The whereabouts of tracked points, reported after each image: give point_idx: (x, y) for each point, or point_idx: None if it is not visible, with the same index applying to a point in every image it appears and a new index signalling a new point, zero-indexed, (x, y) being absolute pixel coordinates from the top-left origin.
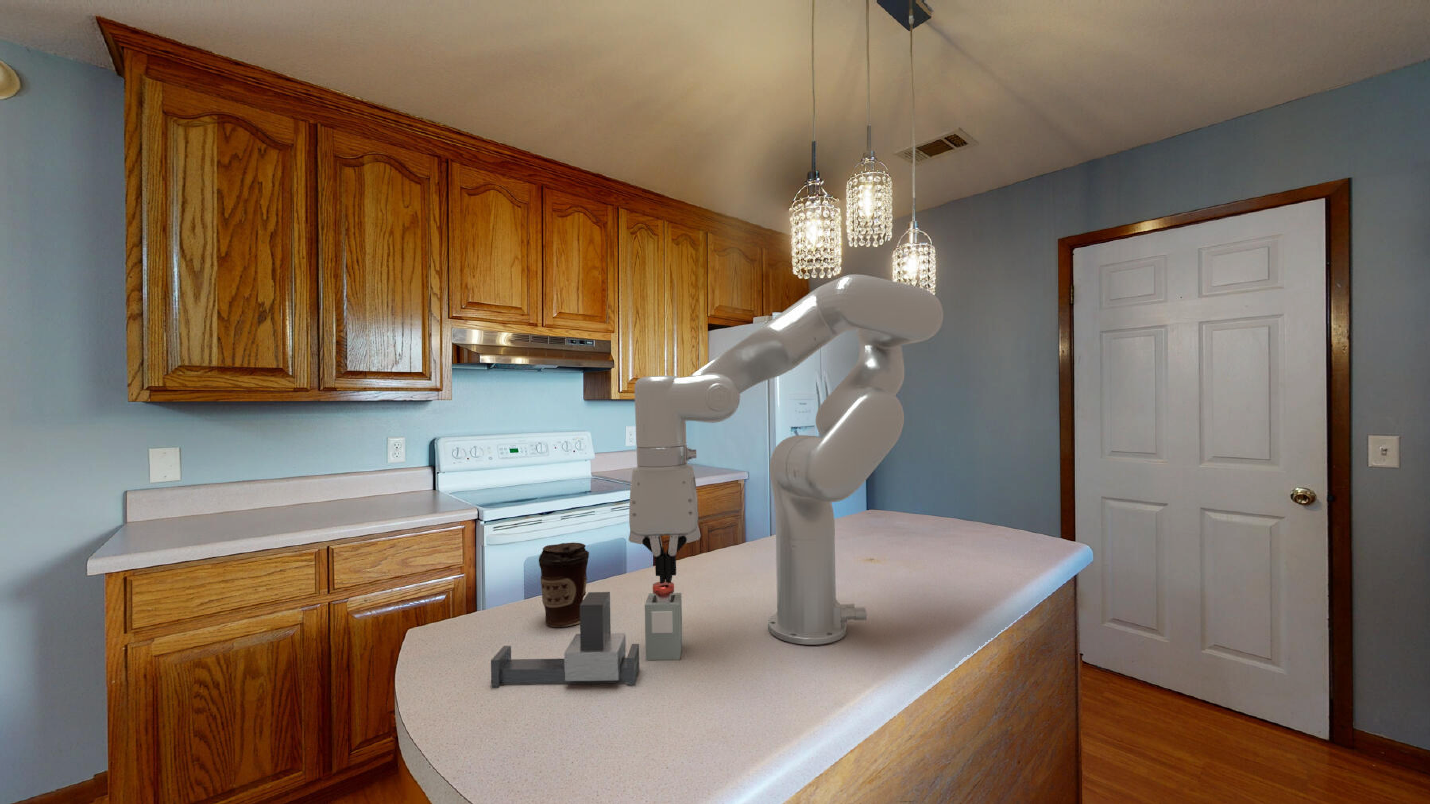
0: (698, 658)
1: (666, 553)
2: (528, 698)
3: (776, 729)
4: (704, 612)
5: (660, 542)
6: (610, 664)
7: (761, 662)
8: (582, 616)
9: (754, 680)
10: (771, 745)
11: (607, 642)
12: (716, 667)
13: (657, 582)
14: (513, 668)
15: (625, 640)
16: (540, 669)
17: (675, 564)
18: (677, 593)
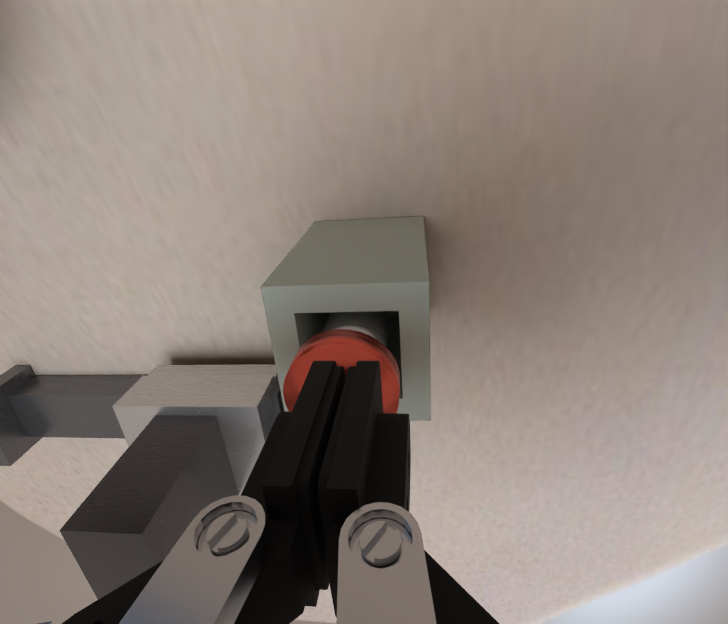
0: (479, 306)
1: (323, 520)
2: None
3: (618, 554)
4: None
5: (234, 612)
6: None
7: (671, 331)
8: None
9: (621, 415)
10: (597, 582)
11: (230, 458)
12: (529, 355)
13: (298, 363)
14: (50, 433)
15: (264, 393)
16: (111, 437)
17: (408, 492)
18: (409, 293)
